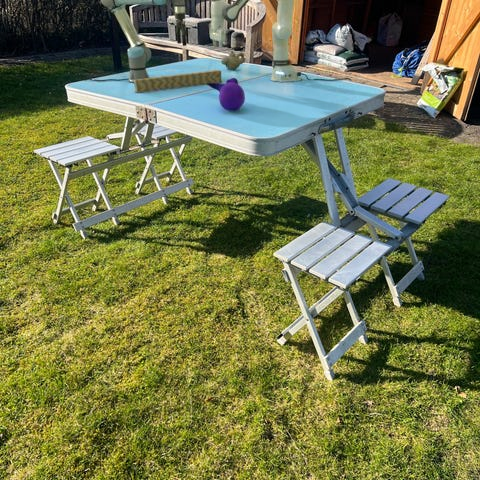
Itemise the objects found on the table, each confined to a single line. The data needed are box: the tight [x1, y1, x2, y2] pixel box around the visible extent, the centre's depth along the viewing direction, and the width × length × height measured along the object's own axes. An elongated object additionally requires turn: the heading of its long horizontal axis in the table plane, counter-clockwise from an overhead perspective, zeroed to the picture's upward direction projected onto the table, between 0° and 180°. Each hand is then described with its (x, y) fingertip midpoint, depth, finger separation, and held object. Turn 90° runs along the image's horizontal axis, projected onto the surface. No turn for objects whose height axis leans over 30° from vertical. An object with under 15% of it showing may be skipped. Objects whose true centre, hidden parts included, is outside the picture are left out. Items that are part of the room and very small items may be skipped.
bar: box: [133, 69, 223, 94], centre depth 317 cm, size 64×4×8 cm, turn 119°
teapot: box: [221, 50, 245, 71], centre depth 369 cm, size 21×12×15 cm, turn 120°
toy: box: [205, 77, 246, 112], centre depth 259 cm, size 16×18×27 cm
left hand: (181, 44), depth 336 cm, fingers open, 13 cm apart
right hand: (217, 47), depth 319 cm, fingers open, 8 cm apart
